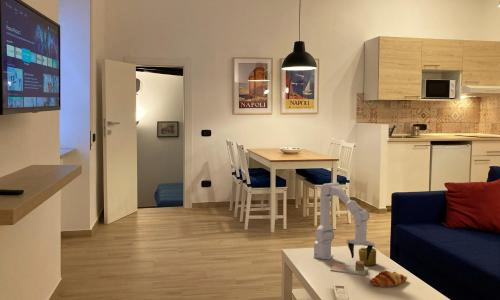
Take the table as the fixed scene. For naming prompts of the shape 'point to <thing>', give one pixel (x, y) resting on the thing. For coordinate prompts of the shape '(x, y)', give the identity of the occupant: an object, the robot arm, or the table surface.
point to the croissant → (388, 279)
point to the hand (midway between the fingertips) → (360, 258)
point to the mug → (364, 256)
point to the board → (347, 269)
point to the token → (359, 266)
